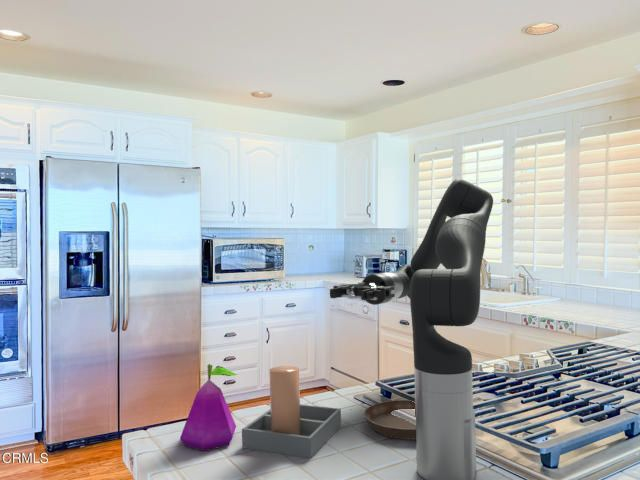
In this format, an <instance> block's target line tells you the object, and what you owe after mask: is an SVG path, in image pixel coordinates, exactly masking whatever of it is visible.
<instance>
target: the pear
mask: <svg viewBox="0 0 640 480" xmlns="http://www.w3.org/2000/svg"><path fill="white" fill-rule="evenodd" d="M206 366H207V381H206V382H205V383H204V384H203V385H202V386H201V387H200V388H199V389H198V391H197V392H196V395H195V398H194V400H193V403H192V405H191V407H190V408H191V409H190V411H189V413H188V416H187V419H186V421H185V422H184V423H185V424H184V426H183V429H182V431H181V434H180V436H179V437H180V438H179V439H180V440H181V441H180V442H182V444H183V445H184V446H185V447H188V448H192V449H195V450H198V451H199V450H200V451H203V452H204V451H209V450H214V449H218V448H221V447H227V446H229V445H230V444H231V441H232V440H233V438H234V434H235V431H236V428H237V425H236V422H235V420H234V417H233V415H232V413H231V411H230V408H229V406H228V404H227V401H226V399H225V396H224V393H223V390H221V388H220V386H218V385H217V384H215V383H214V382H213V381H212V380H211V377H212V376H225V377H232V376H238V374H237V373H235V372H233V371H231V370H229V369H227V368H225V367H223V366H220V365H217V366H216V367H214V369H213V365H212V364H210V363H209V364H207V365H206Z"/></svg>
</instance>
